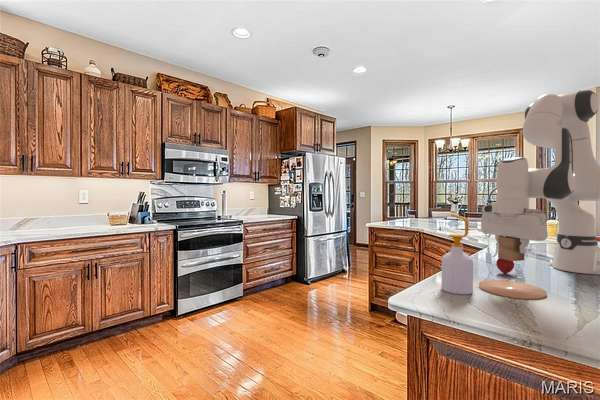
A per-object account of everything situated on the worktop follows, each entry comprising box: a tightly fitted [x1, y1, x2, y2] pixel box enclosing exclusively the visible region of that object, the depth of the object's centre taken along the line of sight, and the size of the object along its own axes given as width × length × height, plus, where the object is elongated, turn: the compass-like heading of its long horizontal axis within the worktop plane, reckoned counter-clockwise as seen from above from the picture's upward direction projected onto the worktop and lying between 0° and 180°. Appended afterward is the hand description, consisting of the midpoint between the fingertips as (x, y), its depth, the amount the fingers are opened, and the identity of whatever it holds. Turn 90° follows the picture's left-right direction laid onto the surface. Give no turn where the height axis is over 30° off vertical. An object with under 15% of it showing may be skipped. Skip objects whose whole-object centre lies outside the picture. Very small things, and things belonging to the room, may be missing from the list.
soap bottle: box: [441, 213, 474, 296], centre depth 101 cm, size 9×9×25 cm
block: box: [497, 236, 526, 262], centre depth 102 cm, size 5×5×7 cm
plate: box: [478, 279, 548, 300], centre depth 102 cm, size 18×18×1 cm
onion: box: [495, 258, 515, 275], centre depth 123 cm, size 6×6×8 cm
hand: (511, 251), depth 102 cm, fingers closed on block, 5 cm apart
